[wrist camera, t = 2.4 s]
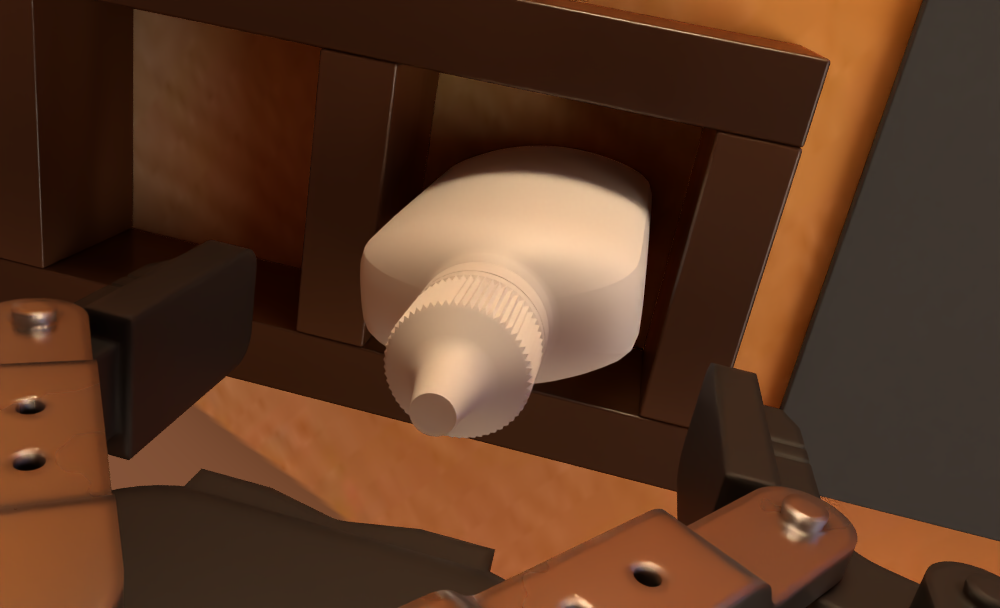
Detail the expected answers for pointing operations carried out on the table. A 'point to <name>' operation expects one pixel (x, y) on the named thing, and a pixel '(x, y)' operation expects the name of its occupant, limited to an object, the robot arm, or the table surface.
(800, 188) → the table surface
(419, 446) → the table surface
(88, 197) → the rack
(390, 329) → the eye dropper bottle
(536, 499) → the table surface
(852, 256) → the mat
